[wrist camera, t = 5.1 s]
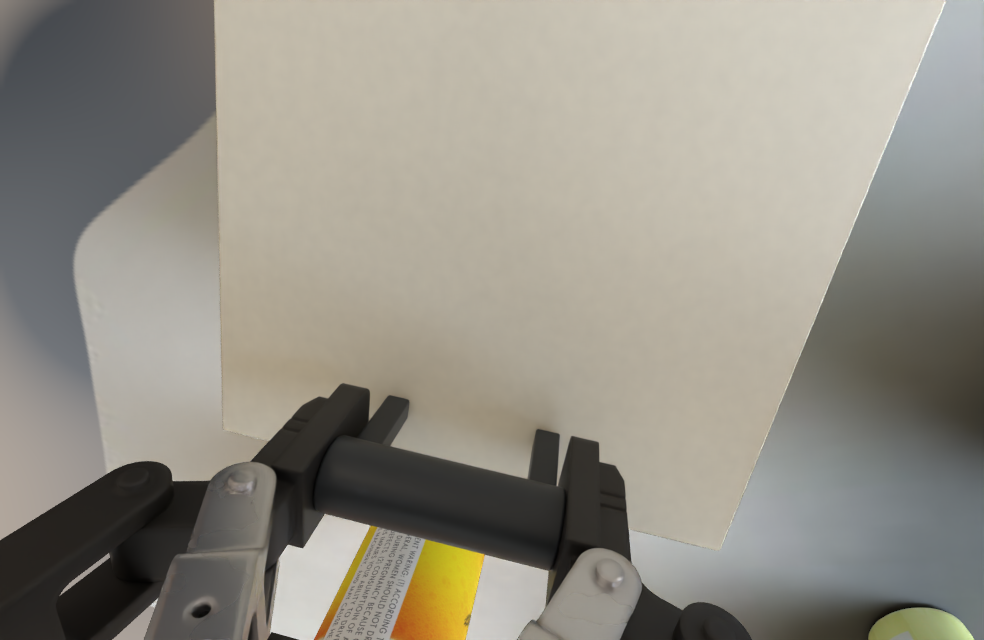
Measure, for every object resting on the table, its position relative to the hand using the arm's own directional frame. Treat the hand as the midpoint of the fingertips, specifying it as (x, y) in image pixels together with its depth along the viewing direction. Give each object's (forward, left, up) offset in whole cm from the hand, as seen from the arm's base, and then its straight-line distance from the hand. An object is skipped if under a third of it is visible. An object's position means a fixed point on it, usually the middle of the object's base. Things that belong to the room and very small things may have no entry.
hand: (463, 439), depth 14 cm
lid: (0, -6, -3) cm, 7 cm away
